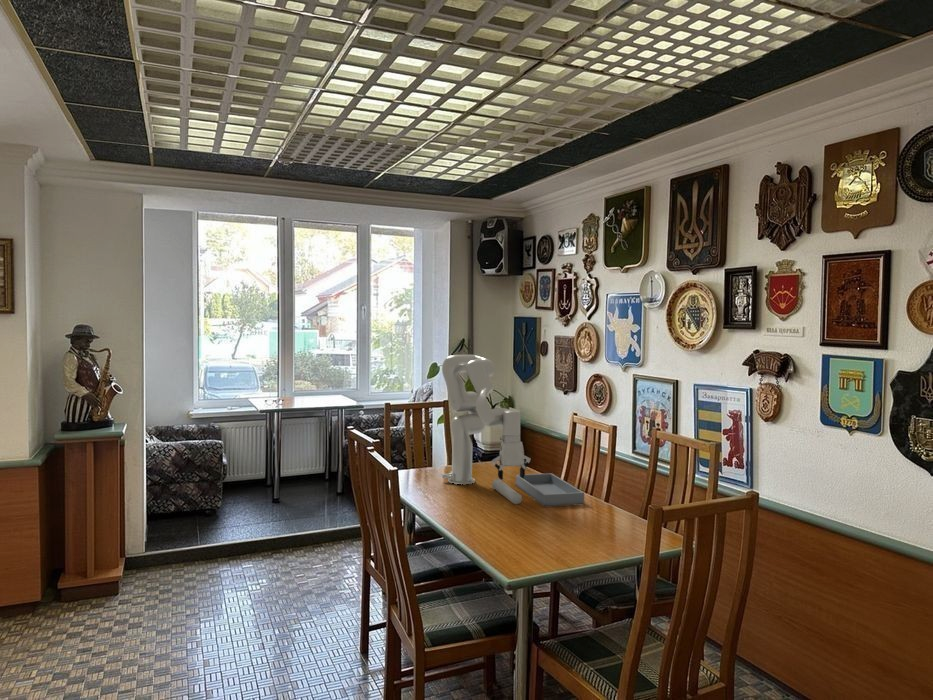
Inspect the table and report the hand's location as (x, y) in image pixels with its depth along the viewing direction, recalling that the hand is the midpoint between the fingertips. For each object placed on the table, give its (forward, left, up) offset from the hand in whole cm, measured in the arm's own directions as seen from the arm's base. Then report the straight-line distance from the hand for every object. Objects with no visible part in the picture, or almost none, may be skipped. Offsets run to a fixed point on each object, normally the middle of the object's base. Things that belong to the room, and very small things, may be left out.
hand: (511, 478), depth 269 cm
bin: (+18, +1, -8) cm, 19 cm away
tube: (-1, +1, -9) cm, 9 cm away
